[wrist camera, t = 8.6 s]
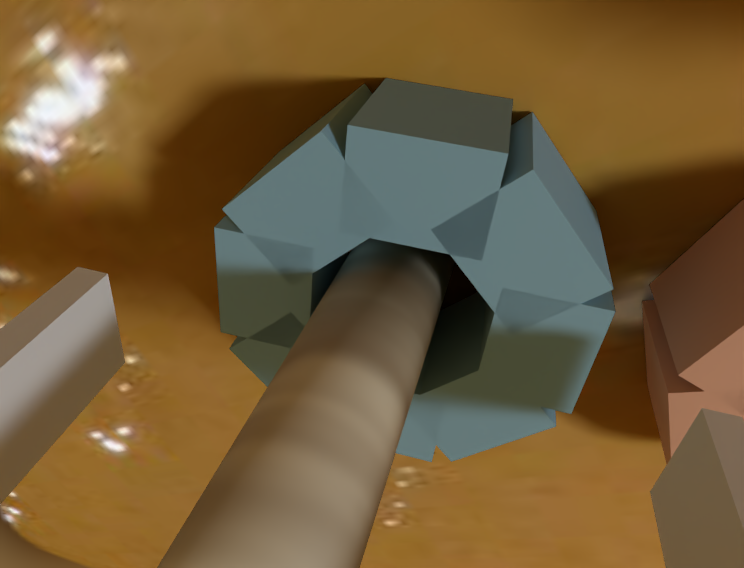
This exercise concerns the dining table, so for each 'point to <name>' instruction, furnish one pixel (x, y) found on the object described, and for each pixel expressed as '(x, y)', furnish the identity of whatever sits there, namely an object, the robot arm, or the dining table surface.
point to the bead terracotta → (697, 332)
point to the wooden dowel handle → (324, 423)
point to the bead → (436, 233)
